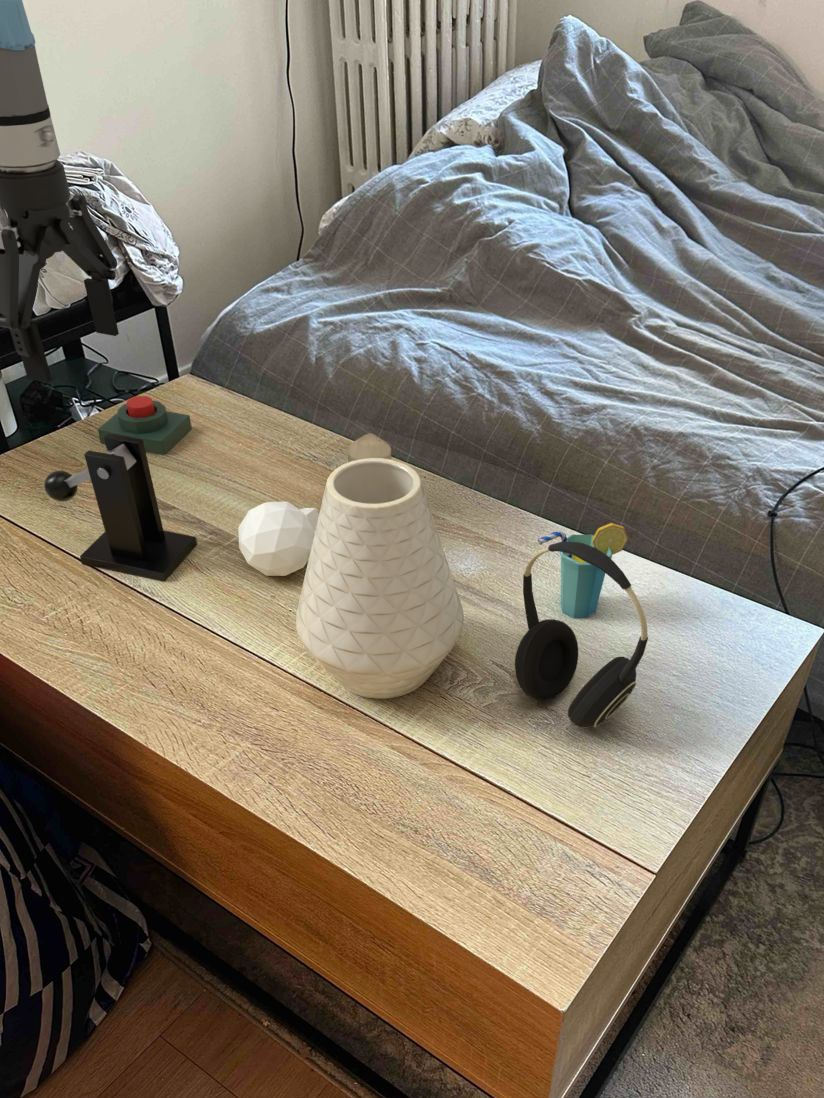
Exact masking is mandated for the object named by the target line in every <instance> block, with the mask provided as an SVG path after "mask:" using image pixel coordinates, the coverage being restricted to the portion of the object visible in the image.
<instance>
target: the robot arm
mask: <svg viewBox="0 0 824 1098" xmlns="http://www.w3.org/2000/svg"><path fill="white" fill-rule="evenodd" d="M49 106H50V105H49V103H48V99H47V95H46V90H45V85H44V82H43V77H42V74H41V68H40V64H39V58H38V53H37V48H36V39H35V35H34V34H33V32H32V30H31V26H30V23H29V20H28V16H27V12H26V10H25V6H24V2H23V0H0V207H1V208H2V209H3V210H4V211H5V213H6V217H7V226H4V227H0V328H5V329H9V333H10V335H11V338H12V342H13V345H14V348H15V352H16V354H18V355H19V356H20V358H21V362H22V365H23V369H24V371H25V375H26V377H27V380H33V381H39V382H43V383H50V382H51V381H53V377H52V374H51V371H50V367H49V364H48V359H47V357H46V353H45V350H44V347H43V342H42V339H41V336H40V332H39V329H38V325H37V324H35V323H31V320H32V315H33V310H34V304H35V299H36V293H37V288H38V283H39V278H40V273H41V270H42V269H43V268H45V266H46V264H47V260H48V259H50V258H52V257H53V256H54V255H55V254H56V253H62V252H63V253H64V254H65V255H66V256H67V257H68V258H69V259H70V260H71V261H72V262H73V263H74V264H76V265H77V267H78V268H79V269H80V270H81V271H82V272H84V273H85V274H86V275H87V276H88V277H86V278H85V279H83V283H84V288H85V292H86V296H87V300H88V304H89V308H90V309H89V310H90V312H91V316H92V319H93V325H94V328H95V333H96V334H101V335H107V336H112V337H117V336H118V335H119V334H120V333H119V328H118V324H117V319H116V315H115V311H114V306H113V295H112V291H111V287H110V282H109V280H110V281H114V280H116V276H117V275H116V274H117V273H116V270H115V269H117V267H118V260H117V258H116V256H115V255H114V253H113V252H112V250H111V249H110V247H109V245H108V243H107V241H106V240H105V237H103V235H102V233H101V231H100V230H99V228H98V226H97V225H96V223H95V221H94V219H93V218H92V216H91V214H90V212H89V208H88V205H87V202H86V199H85V197H84V196H83V195H81V194H74V193H71V191H70V186H69V182H68V179H67V174H66V170H65V166H64V164H63V163H62V162H61V161H59V160H58V159H59V158H60V157H61V152H60V148H59V143H58V139H57V135H56V131H55V127H54V124H53V123H54V122H53V120H52V116H51V110H50V107H49ZM25 253H27V254H25ZM89 277H90V278H89Z"/></svg>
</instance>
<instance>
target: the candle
mask: <svg viewBox="0 0 824 1098" xmlns="http://www.w3.org/2000/svg"><path fill="white" fill-rule="evenodd" d="M346 449H347V450H346V451H347V452H346V454H347V463H348V462H351V461H355V460H360V459H367V458H382V459H390V460H392V448H391V445H390V444H388V443H387V442H386V441H385V440H383V439H381V438H380V437H378V436H377V435H375V434H374V433H370V432H369V433H366V434H364V435H362V436H361V437H359V438H357V439H355V440H353V441H352V442H351V443H350V444H349V445H348V446H347V448H346Z"/></svg>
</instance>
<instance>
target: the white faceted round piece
mask: <svg viewBox="0 0 824 1098" xmlns="http://www.w3.org/2000/svg"><path fill="white" fill-rule="evenodd" d="M318 517H319V512H318V508H317V507H308V508H307V507H305V508H303V507H302V508H300V509H299V508H297V507H296V506H294V505H293V504H292V503H290V502H288V501H266V502H263V503H261V504H259V505H257V506H255V507H253V508H251V509H249V510H248V512H247V513H246V515H245V516H244V518H243V519H242V521H241V522H240V524H239V525H238V527H237V530H238V531H237V532H238V548H239V550H240V552H241V553H242V556H243V558H244V559H245V561H246V562H247V564H248V565H250V566H251V567H252V568H254V569H255V570H257V571H258V572H260V573H262V574H263V575H265V576H266V577H286V576H288V575H290V574H292V573H294V572H297V571H299V570H301V569H303V568H304V567H305V566H306V565H307V564H308V561H309V556H310V552H311V548H312V543H313V539H314V535H315V530H316V526H317V522H318Z"/></svg>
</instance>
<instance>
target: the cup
mask: <svg viewBox="0 0 824 1098" xmlns="http://www.w3.org/2000/svg"><path fill="white" fill-rule="evenodd" d="M557 538H560V540H561V542H579V543H584V544H587V545H589V546H592V547H595V548H597V549H599V550H600V551H602V552H603V553H604V554H606V555H607V556H608V557H610V558H611V559H612V558H613V556H614V555H615V554H618V553H620V552H622V551H623V550H624V548H625V546H626V544H627V542H628V541H629V538H628V535H627V532H626V529H625V527H624V526H623V525H620V524H616V523H613V522H610V523H608V524H605V525H603V526H601V527H597V530H596V532H595V533H594V534H591V533H590V534H588V533H587V534H571V535H570V536H568V537H567V534H566V533H565V532H564V531H562V530H555V531H553V532H550V533H548V534H546V535H544V536H542V537H540V538H537V543H538V544H539V545H540V546H541V545H543V544H545V543H548V542H551V541H552V540H555V539H557ZM559 555H560V606H561V612H562V613H563V614H565V615H567V616H569V617H571V618H572V619H588V618H589V617H591V616H592V615H593V614H594V613H596V612H597V608H598V604H599V599H600V596H601V592H602V589H603V586H604V585H603V584H604V580H605V578H606V577H605V576H606V573H604V572H603V571H602V570H601V569H599V568H597V567H596V566H594V565H592V564H589V563H587V562H585V561H583V560H582V559H580V558H578V557H576V556H574V555H572V554H569V553H565V552H559Z"/></svg>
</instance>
